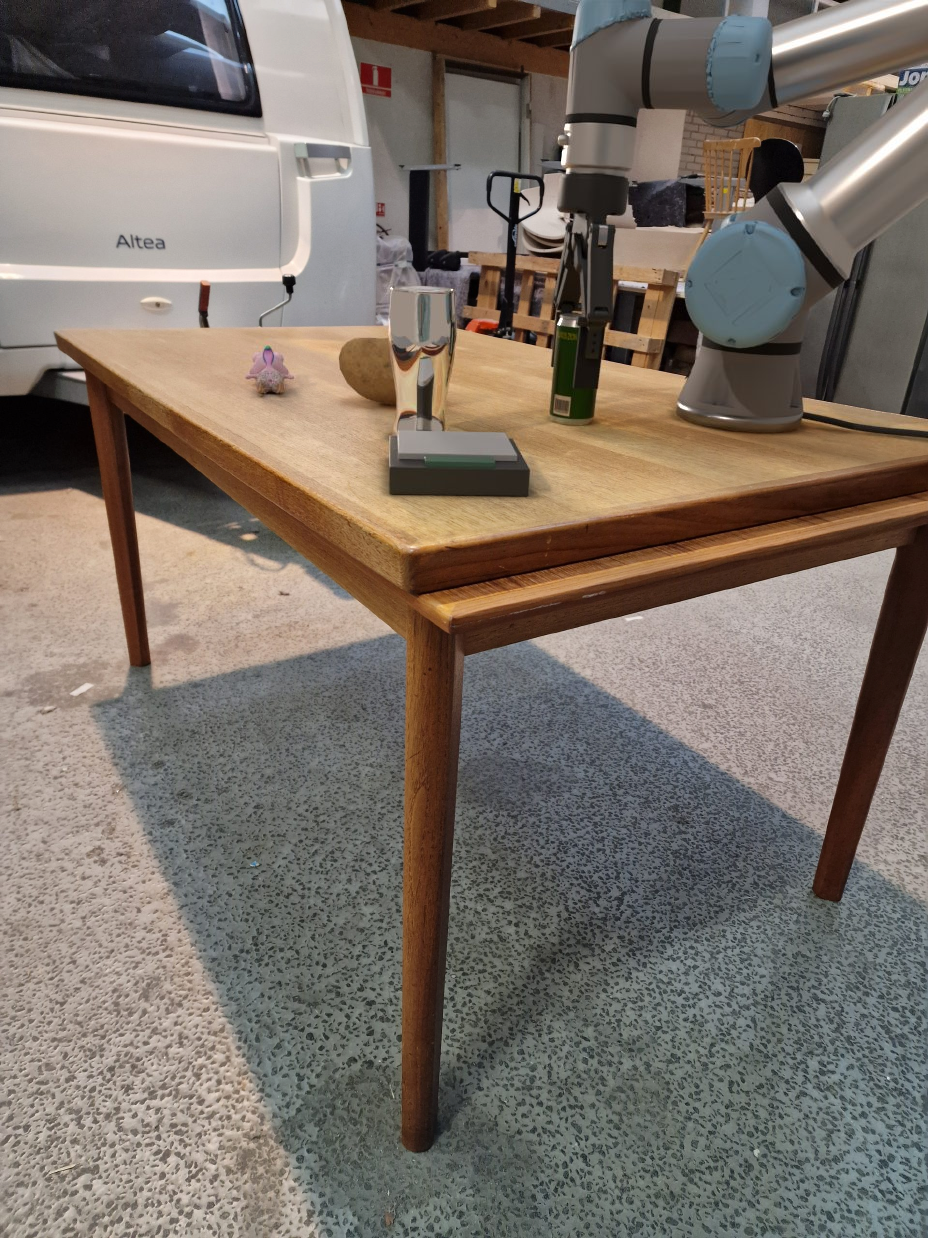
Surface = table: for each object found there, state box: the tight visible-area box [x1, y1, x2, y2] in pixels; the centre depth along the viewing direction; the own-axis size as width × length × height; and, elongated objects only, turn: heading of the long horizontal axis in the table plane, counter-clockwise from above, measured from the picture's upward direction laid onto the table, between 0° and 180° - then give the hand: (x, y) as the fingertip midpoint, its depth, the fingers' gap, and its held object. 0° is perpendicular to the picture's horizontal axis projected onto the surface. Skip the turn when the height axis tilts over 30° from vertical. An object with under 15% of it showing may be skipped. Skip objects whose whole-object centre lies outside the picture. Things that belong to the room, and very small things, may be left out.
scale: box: [388, 430, 531, 497], centre depth 75 cm, size 12×11×3 cm
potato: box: [338, 337, 396, 406], centre depth 102 cm, size 10×14×8 cm
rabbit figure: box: [244, 344, 295, 397], centre depth 109 cm, size 6×6×15 cm
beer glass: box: [387, 285, 458, 436], centre depth 85 cm, size 7×7×15 cm
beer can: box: [549, 312, 598, 426], centre depth 96 cm, size 5×5×12 cm
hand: (572, 377), depth 97 cm, fingers open, 13 cm apart
